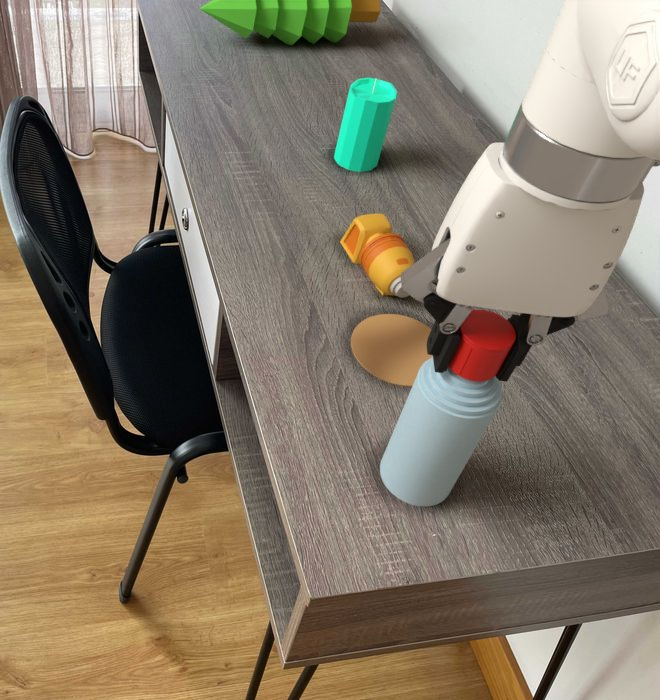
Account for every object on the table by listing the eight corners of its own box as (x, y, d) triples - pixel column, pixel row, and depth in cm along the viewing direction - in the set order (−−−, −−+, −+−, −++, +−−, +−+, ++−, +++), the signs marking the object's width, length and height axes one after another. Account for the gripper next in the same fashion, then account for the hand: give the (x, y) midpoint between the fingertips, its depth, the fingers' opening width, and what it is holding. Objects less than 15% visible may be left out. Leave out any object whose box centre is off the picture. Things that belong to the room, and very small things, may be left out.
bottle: (460, 469, 67) (541, 328, 53) (435, 521, 63) (515, 383, 49) (394, 436, 69) (456, 292, 55) (367, 485, 65) (425, 343, 52)
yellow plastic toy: (421, 306, 81) (376, 236, 89) (436, 269, 77) (388, 199, 85) (377, 313, 80) (335, 242, 88) (390, 275, 76) (345, 204, 83)
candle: (357, 145, 102) (378, 62, 93) (386, 167, 99) (410, 83, 90) (324, 156, 100) (342, 72, 91) (352, 179, 97) (374, 94, 88)
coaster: (460, 345, 77) (462, 341, 77) (424, 405, 72) (426, 401, 71) (374, 304, 81) (375, 300, 80) (333, 358, 75) (334, 354, 75)
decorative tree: (393, -33, 115) (208, -34, 107) (385, 46, 120) (208, 51, 112) (359, -31, 124) (188, -31, 117) (353, 43, 129) (189, 46, 122)
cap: (481, 391, 52) (499, 358, 50) (434, 361, 54) (448, 328, 52) (507, 361, 55) (525, 329, 52) (461, 334, 56) (476, 301, 54)
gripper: (703, 132, 44) (569, 341, 57) (422, 99, 44) (355, 313, 58) (752, 208, 39) (592, 417, 52) (434, 169, 39) (357, 386, 53)
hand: (468, 361), depth 55 cm, fingers closed on cap, 3 cm apart
